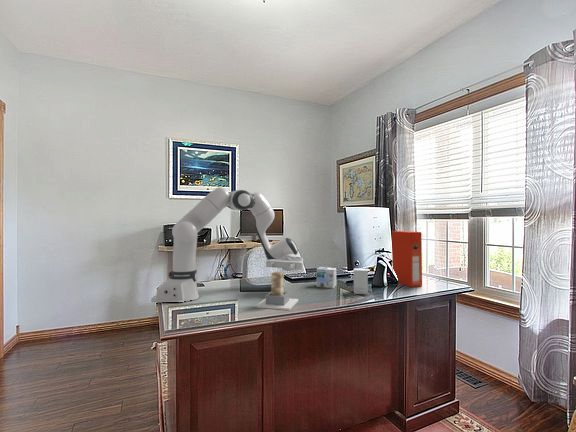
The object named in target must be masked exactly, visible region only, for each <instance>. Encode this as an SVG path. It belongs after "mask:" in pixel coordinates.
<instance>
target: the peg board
mask: <svg viewBox="0 0 576 432" xmlns="http://www.w3.org/2000/svg"><path fill="white" fill-rule="evenodd" d="M298 302H299V298H291V297H290V291H283V296H277V295H271V291H270V292H268V293H266V295H265V298H264V299H263V300H261V301H260V302H258V303H257V304H256V305H255V308H260V309H270V310H271V309H272V310H285V311H291V309H293V307H294V306H295V305H296V304H297V303H298Z"/></svg>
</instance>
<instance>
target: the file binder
mask: <svg viewBox="0 0 576 432" xmlns="http://www.w3.org/2000/svg"><path fill="white" fill-rule="evenodd" d="M422 250H423V249H422V231H408V230H407V231H406V230H397V231H396V230H392V231H391V252H392V253H391V255H392V256H391V257H392V259H391V262H392V266H393V267H392V270H393V269H394V271H395V273H396V275H397V278H398V283H397V284H399V285H403V286H406V287H409V288H419V287H422V286H423V259H422V258H423V257H422V256H423V254H422V252H423V251H422Z"/></svg>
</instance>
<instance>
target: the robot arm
mask: <svg viewBox="0 0 576 432" xmlns="http://www.w3.org/2000/svg"><path fill="white" fill-rule="evenodd" d="M226 207H227V208H229V209H230V210H234V211H245V210H246V211H247V210H249V211H250V212H251V214H252V215H253V216H254V219H255V222H256V223H255V225H254V228H255V232H256V234H257V237H258V239H259V242H260V245H261V246H262V248H263V252H264V255H265V257H266V261H265V266H266V267H267V268H277V269H282V270H283V271H285V272H290V271H296V270H297V271H300V270H303V269H304V258H303V257H301V256H300V254H299V253H298V252H299V250H298V246H297V244H296V242H295V241H294V240H293V239H292V238H289V237H285V238H283V239H281V240H279V241H277V242H276V243H274V244H271V243H270V241H269V239H268V236H267V234H266V231H267V229H268V228H270V226H271V225H272V224H273V221H274V220H275V216H276V215H275V211H274V209H273V207H272V206H271V204H270V202H269V201H268V200H267V199H266V198H265V196H264V195H263V193H260V192H258V191H257V192H253V193H251V192H249V191H247V190H244V189H241V190H240V189H236V190H234V191H228V190H227V189H226V188H224V187H220V186H219V187H216V188H214V190H211V192H209V193H208V194H207V195H205V196H204V197H203V198H202V199H201V200H200V201H199V202H198V203H197V204H196V205H195V206H194V207H193V208H192V209H190V210H189V211H188V212H187V213H186V214H185V215H183V216H182V218H181V219H179V220H178V221H177V222H176V223H175V224H174V225H173V226H172V228H171V229H172V230H171V232H172V233H171V234H172V237H173V247H172V248H173V249H172V269H171V270H170V271H169V272H168V273H167V274H168V275H167V276H168V279H167V280H165V281H164V282H162V283H161V284H160V285H159V286H158V287H157V290H156V294H155V295H154V296H153V297H151V299H150V302H151V303H162V302H183V303H185V302H184V301H186V302H190V300H192V301H194V300H197V299H199V298H200V295H199V294H200V293H199V290H198V286H197V285H198V284H197V279H198V270H197V247H198V233H199V232H200V231H201V230H203V229H204V228H205V227H206V226H208V224H210V223H211V222H212V221H213V220H214V219H215V218H216V217H217V216H218V215H219V213H220V214H221V212H222V211H223V210H224V209H225V208H226Z"/></svg>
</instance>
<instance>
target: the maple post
mask: <svg viewBox="0 0 576 432" xmlns="http://www.w3.org/2000/svg"><path fill="white" fill-rule="evenodd" d="M270 275H271V276H270V277H271V286H270V287H271V290H270V292H271V295H277V296H283V292H284V271H273V272H271V274H270Z"/></svg>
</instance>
